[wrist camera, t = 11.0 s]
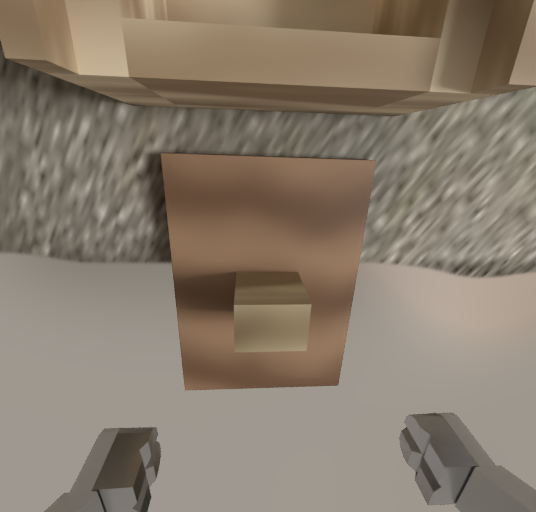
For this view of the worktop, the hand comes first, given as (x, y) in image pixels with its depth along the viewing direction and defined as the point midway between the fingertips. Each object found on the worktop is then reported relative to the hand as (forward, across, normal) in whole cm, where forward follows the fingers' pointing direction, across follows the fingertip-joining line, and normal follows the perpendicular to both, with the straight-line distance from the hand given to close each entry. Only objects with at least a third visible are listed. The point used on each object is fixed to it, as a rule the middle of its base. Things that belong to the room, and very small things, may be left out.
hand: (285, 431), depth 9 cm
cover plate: (+12, 0, +1) cm, 12 cm away
